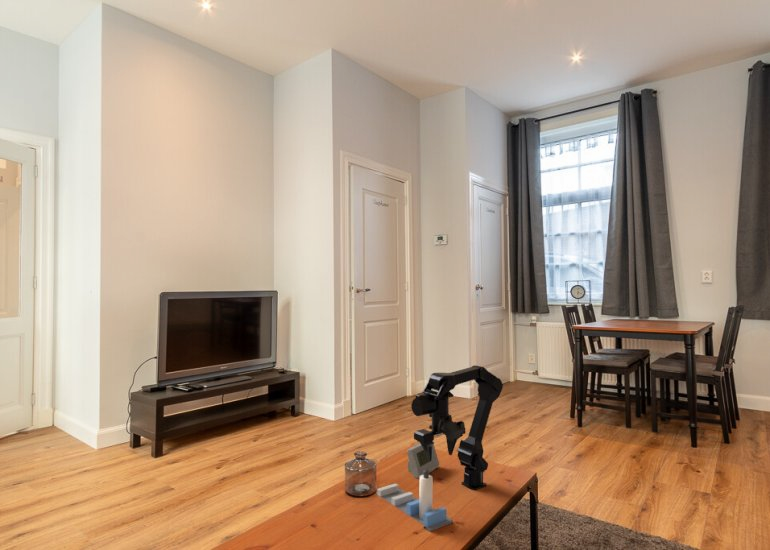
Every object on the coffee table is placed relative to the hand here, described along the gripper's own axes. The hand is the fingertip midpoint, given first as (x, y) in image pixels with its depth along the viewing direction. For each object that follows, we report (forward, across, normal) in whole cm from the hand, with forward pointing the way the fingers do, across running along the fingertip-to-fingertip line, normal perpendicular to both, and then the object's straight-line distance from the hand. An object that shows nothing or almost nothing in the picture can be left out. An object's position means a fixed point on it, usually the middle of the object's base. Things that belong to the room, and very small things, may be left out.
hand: (440, 457), depth 158 cm
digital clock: (+13, +9, +19) cm, 25 cm away
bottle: (+12, -14, -9) cm, 21 cm away
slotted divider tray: (+13, -13, -1) cm, 18 cm away
